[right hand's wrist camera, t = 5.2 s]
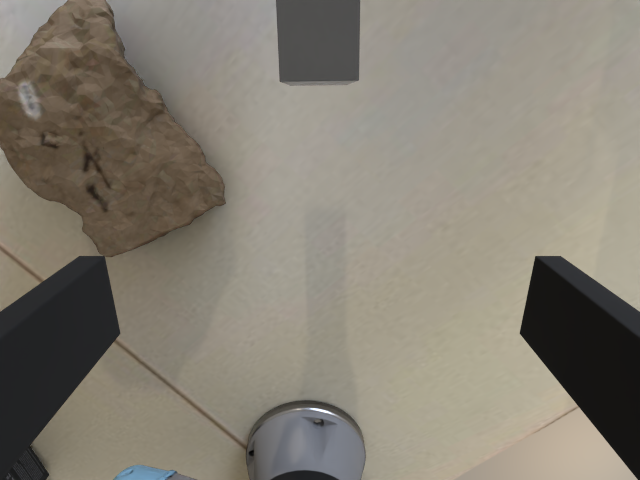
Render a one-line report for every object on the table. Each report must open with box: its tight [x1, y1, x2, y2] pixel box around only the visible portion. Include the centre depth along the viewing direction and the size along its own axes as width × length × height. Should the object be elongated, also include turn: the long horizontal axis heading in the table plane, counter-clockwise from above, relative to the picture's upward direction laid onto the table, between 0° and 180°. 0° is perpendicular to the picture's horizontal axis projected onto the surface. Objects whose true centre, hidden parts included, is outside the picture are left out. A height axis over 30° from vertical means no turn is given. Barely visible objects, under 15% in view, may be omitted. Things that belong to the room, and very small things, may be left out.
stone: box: [0, 0, 226, 257], centre depth 38 cm, size 21×15×6 cm
